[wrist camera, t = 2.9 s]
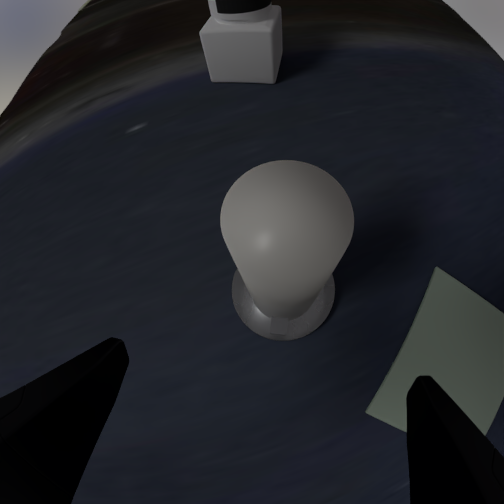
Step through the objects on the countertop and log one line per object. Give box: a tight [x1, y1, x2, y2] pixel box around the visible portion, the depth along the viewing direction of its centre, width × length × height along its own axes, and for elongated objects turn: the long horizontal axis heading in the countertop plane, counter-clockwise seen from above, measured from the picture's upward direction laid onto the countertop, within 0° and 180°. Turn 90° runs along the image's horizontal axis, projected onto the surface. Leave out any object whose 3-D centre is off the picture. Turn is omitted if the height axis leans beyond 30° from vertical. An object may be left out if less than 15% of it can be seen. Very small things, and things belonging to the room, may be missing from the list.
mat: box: [365, 267, 504, 435], centre depth 17 cm, size 12×12×1 cm
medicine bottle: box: [200, 0, 283, 84], centre depth 24 cm, size 7×7×12 cm
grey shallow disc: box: [232, 268, 335, 341], centre depth 20 cm, size 7×7×1 cm
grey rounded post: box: [220, 160, 354, 336], centre depth 15 cm, size 6×4×11 cm
